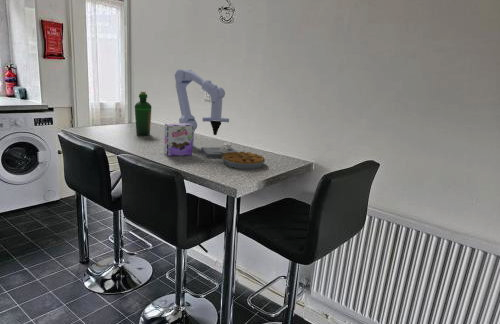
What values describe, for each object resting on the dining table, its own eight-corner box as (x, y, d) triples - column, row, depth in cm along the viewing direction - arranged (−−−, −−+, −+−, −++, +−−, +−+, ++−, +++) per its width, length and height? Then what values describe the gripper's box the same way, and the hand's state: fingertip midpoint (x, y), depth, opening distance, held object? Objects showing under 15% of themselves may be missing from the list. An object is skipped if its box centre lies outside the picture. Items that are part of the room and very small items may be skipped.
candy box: (166, 156, 176) (167, 124, 172) (163, 153, 181) (164, 123, 177) (192, 155, 182) (193, 124, 178) (189, 152, 187) (190, 123, 183)
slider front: (222, 153, 183) (222, 147, 182) (220, 151, 187) (220, 145, 186) (227, 153, 184) (227, 147, 183) (225, 151, 188) (225, 145, 187)
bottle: (155, 135, 227) (155, 92, 220) (142, 136, 218) (142, 92, 211) (144, 132, 232) (144, 91, 225) (131, 134, 224) (130, 91, 217)
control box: (206, 157, 179) (207, 154, 179) (201, 150, 194) (201, 147, 193) (239, 157, 185) (239, 153, 185) (231, 150, 200) (231, 147, 199)
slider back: (225, 149, 192) (225, 144, 191) (223, 147, 196) (223, 142, 195) (230, 149, 193) (230, 144, 192) (228, 147, 197) (228, 142, 196)
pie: (230, 171, 159) (231, 161, 158) (215, 159, 178) (216, 150, 177) (271, 169, 168) (272, 159, 167) (253, 158, 187) (254, 149, 186)
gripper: (204, 110, 180) (203, 135, 183) (231, 111, 185) (229, 136, 188) (202, 108, 186) (201, 133, 190) (227, 110, 191) (226, 133, 194)
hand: (215, 134), depth 189 cm, fingers closed
